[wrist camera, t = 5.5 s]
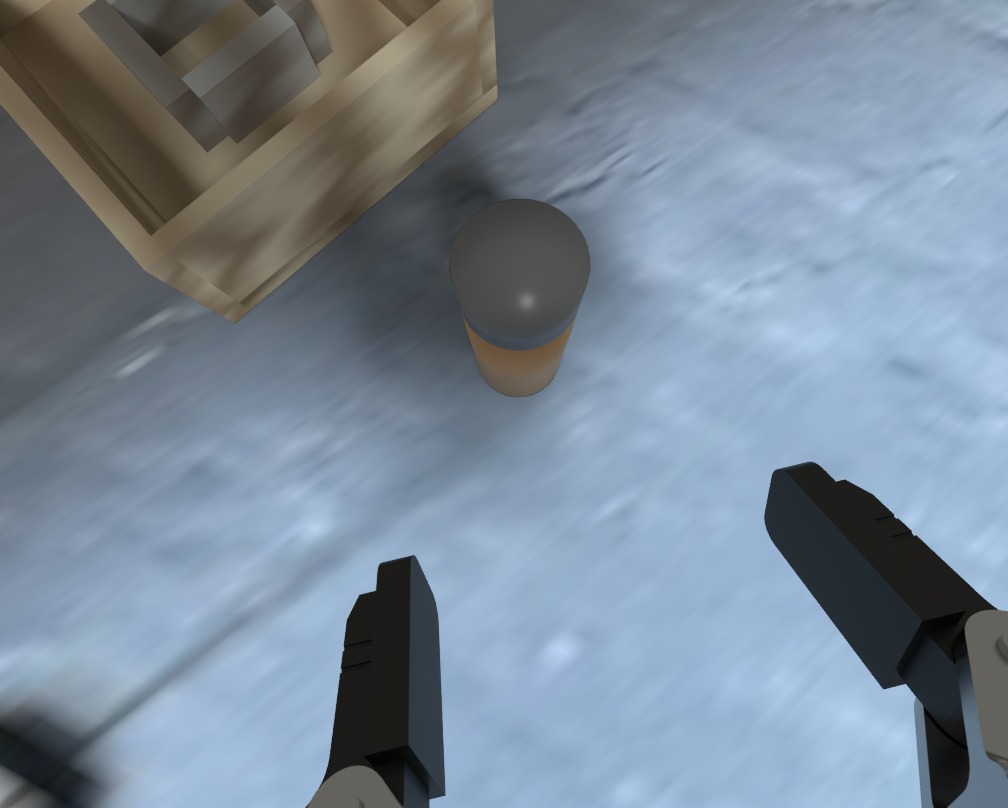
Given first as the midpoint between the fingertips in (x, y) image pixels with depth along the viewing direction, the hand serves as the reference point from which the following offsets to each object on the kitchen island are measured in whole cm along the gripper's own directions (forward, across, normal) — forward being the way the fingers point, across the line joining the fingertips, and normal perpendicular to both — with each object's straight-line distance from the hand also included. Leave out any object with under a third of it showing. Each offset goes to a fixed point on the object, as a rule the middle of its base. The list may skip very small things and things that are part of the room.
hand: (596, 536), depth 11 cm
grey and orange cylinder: (+14, 0, +3) cm, 14 cm away
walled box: (+27, +11, -10) cm, 31 cm away
